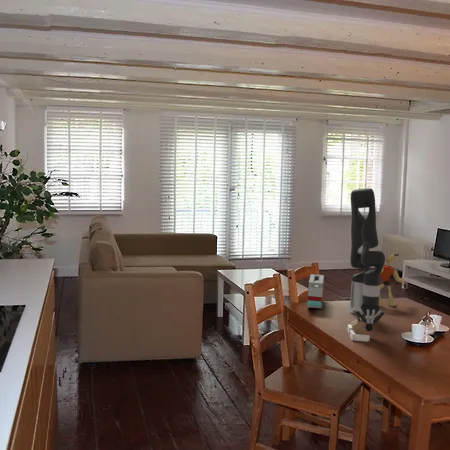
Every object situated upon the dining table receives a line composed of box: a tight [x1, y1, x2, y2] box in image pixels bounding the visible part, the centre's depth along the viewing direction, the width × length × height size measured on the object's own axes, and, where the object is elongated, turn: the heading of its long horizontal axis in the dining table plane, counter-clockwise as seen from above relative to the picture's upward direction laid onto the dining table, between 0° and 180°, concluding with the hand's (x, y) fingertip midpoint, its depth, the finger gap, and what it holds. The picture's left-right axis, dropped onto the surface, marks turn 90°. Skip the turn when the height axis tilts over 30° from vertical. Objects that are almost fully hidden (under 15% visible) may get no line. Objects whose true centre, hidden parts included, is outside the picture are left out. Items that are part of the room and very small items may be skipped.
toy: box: [379, 253, 407, 307], centre depth 308 cm, size 23×9×30 cm, turn 100°
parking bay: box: [347, 323, 371, 342], centre depth 250 cm, size 15×8×3 cm, turn 174°
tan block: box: [350, 308, 369, 335], centre depth 249 cm, size 7×5×12 cm
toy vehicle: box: [306, 273, 325, 309], centre depth 306 cm, size 8×30×15 cm, turn 169°
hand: (368, 330), depth 249 cm, fingers closed
